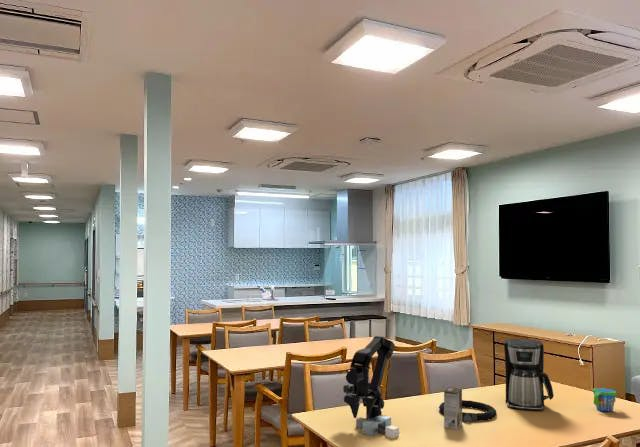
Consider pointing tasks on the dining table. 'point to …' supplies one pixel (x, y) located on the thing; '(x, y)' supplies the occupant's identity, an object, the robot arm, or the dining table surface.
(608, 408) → the snack cup
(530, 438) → the dining table surface
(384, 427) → the motor housing
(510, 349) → the coffee maker
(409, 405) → the dining table surface
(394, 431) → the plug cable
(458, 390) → the coffee box
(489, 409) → the cable lock
